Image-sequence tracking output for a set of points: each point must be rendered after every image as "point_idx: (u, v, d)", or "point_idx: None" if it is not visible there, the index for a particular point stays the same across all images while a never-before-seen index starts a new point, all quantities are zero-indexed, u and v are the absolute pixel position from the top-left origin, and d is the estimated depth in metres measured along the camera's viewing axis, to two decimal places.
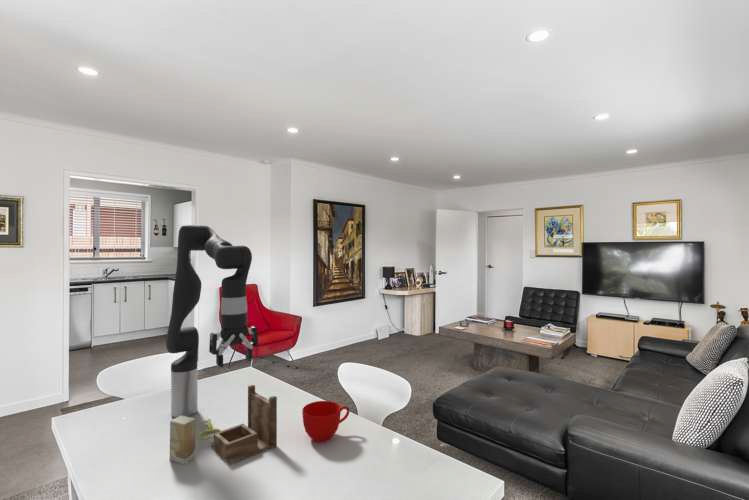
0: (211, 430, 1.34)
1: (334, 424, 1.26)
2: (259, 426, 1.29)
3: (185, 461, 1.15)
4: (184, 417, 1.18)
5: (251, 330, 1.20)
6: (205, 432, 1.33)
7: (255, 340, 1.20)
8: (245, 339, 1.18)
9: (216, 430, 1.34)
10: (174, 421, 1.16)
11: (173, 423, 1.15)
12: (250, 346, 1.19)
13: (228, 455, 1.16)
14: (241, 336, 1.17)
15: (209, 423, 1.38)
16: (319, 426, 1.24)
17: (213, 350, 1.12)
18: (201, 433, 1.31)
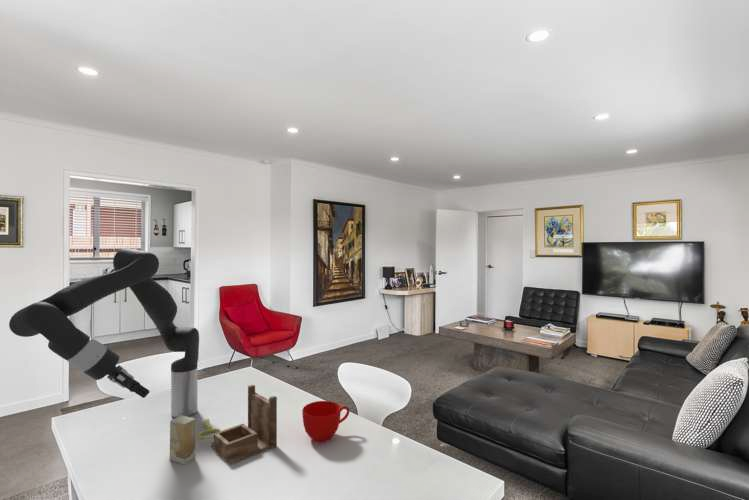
0: (210, 430, 1.34)
1: (334, 424, 1.26)
2: (259, 426, 1.29)
3: (185, 461, 1.15)
4: (184, 417, 1.18)
5: None
6: (205, 432, 1.33)
7: None
8: (118, 384, 1.02)
9: (216, 430, 1.34)
10: (174, 421, 1.16)
11: (173, 423, 1.15)
12: None
13: (228, 455, 1.16)
14: (112, 381, 1.02)
15: (208, 423, 1.38)
16: (319, 426, 1.24)
17: None
18: (201, 433, 1.32)
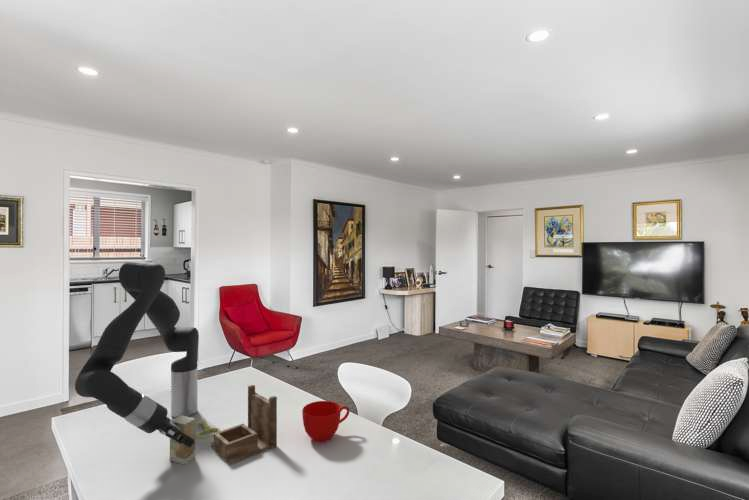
0: (209, 429, 1.34)
1: (334, 424, 1.26)
2: (259, 426, 1.29)
3: (185, 461, 1.15)
4: (184, 417, 1.18)
5: None
6: (203, 432, 1.33)
7: (175, 440, 1.10)
8: (167, 436, 1.12)
9: (214, 429, 1.35)
10: (174, 421, 1.16)
11: None
12: None
13: (228, 455, 1.16)
14: (162, 433, 1.12)
15: (205, 423, 1.38)
16: (319, 426, 1.24)
17: None
18: (199, 433, 1.32)
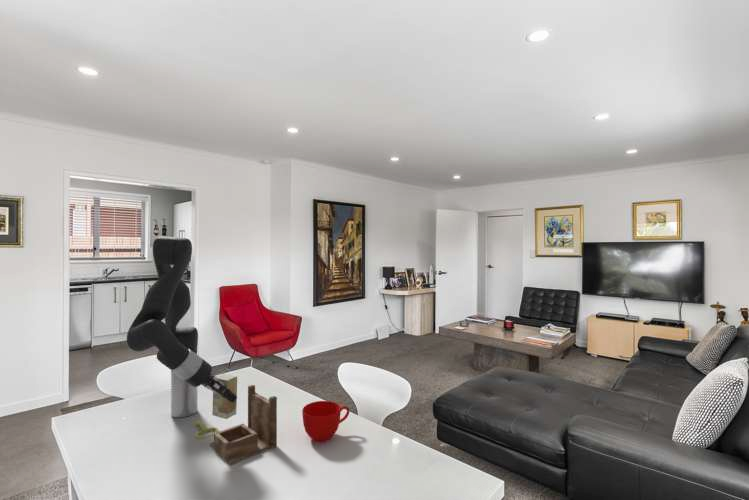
0: (207, 429, 1.34)
1: (334, 424, 1.26)
2: (259, 426, 1.29)
3: (228, 416, 1.19)
4: (226, 375, 1.22)
5: None
6: (201, 432, 1.33)
7: (220, 394, 1.14)
8: None
9: (212, 429, 1.35)
10: (217, 378, 1.20)
11: None
12: None
13: (228, 455, 1.16)
14: (207, 388, 1.16)
15: (202, 423, 1.38)
16: (319, 426, 1.24)
17: None
18: (198, 433, 1.32)
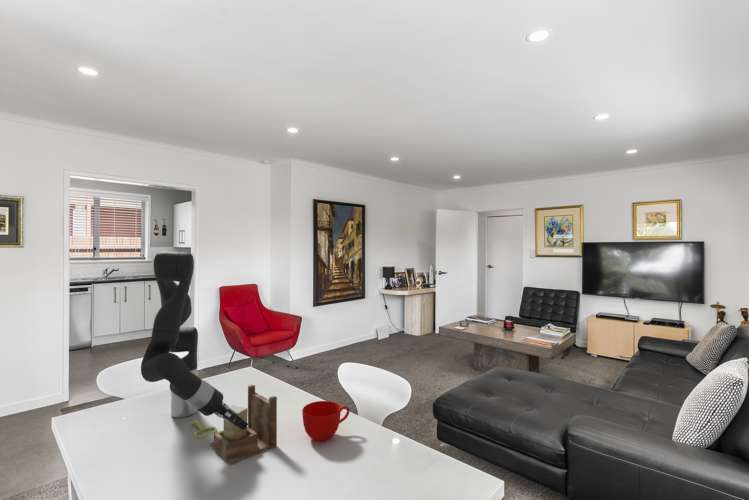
0: (205, 429, 1.35)
1: (334, 424, 1.26)
2: (259, 426, 1.29)
3: None
4: (236, 407, 1.24)
5: None
6: (199, 431, 1.33)
7: None
8: None
9: (210, 428, 1.35)
10: None
11: None
12: None
13: (228, 455, 1.16)
14: (218, 416, 1.17)
15: (198, 423, 1.37)
16: (319, 426, 1.24)
17: None
18: (196, 433, 1.32)
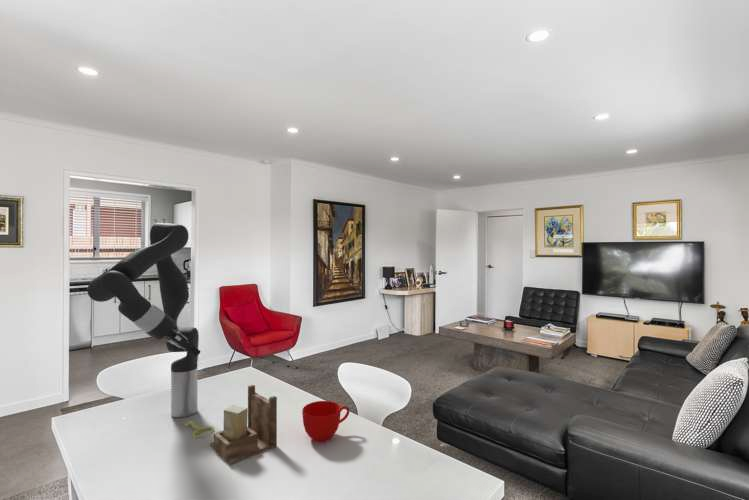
0: (202, 429, 1.35)
1: (334, 424, 1.26)
2: (259, 426, 1.29)
3: None
4: (236, 407, 1.24)
5: None
6: (197, 432, 1.33)
7: (182, 347, 1.17)
8: (175, 344, 1.18)
9: (207, 428, 1.36)
10: (228, 410, 1.21)
11: (227, 412, 1.21)
12: (184, 349, 1.19)
13: (228, 455, 1.16)
14: (170, 342, 1.19)
15: (194, 424, 1.37)
16: (319, 426, 1.24)
17: None
18: (194, 433, 1.32)
